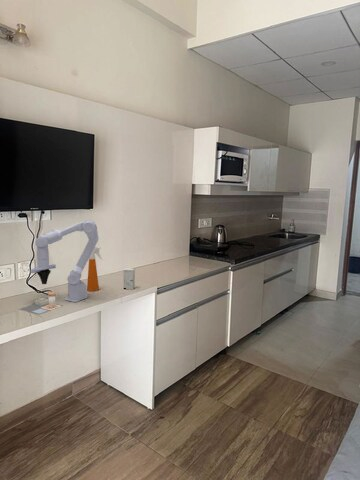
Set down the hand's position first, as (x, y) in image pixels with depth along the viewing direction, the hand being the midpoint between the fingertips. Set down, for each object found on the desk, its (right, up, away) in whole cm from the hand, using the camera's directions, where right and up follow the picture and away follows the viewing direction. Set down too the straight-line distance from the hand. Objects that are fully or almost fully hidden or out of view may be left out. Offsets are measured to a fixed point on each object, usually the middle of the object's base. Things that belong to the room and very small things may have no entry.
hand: (44, 283), depth 183 cm
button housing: (0, -10, -3) cm, 11 cm away
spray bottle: (+22, -7, +22) cm, 32 cm away
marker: (+7, -11, -8) cm, 15 cm away
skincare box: (+41, -6, +26) cm, 49 cm away
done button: (0, -9, -3) cm, 10 cm away
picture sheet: (+2, -11, -9) cm, 14 cm away
